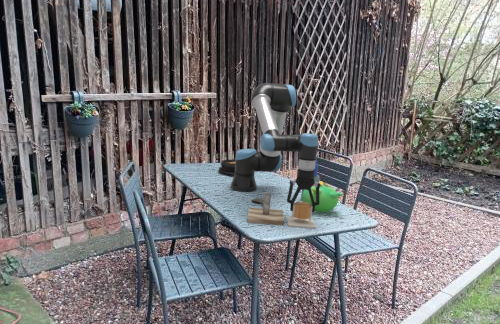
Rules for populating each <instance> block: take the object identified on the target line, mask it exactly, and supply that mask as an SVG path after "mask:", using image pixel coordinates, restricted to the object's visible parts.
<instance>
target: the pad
mask: <svg viewBox="0 0 500 324" xmlns="http://www.w3.org/2000/svg"><path fill="white" fill-rule="evenodd" d="M286 221H287V227H289V228H299V229H310V230H311V229H313V230H316V229H317V226H316V222H315V221H314V218H313V217H311V220H309V219H298V218H295V217H294V219H292V215H291V216H289V215H286Z"/></svg>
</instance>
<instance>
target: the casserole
mask: <svg viewBox="0 0 500 324" xmlns="http://www.w3.org/2000/svg"><path fill="white" fill-rule="evenodd" d="M220 165H221V166H220V167H218V172H220V173H223V174H226V175H228V174H230V175H229V176H234V175H235V159H224V160H221V162H220Z"/></svg>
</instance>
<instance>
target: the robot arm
mask: <svg viewBox="0 0 500 324" xmlns="http://www.w3.org/2000/svg"><path fill="white" fill-rule="evenodd" d="M250 96H251V98H250V101H251V104H252V107H253V108H254V109H255V111H256V115H257V118H258V121H259V125H260V128H261V129H260V130H261V132H262V135H261V136H260V141H259V142H260V151H257V149H255V148H242V149H238V150H237V151H236V154H235V158H234V160H235V175H233V178H232V180H231V182H230V189H231V190H233V191H235V192H244V193H246V192H248V193H249V192H254V191H256V190H257V183H256V178H255V174H256V173H255V172H259V173H260V172H261V173H264V172H265V173H266V172H267V173H274V172H275V173H276V172H278V171H279V170H281V169H280V168H281V166H282V163H283V155H282V154H281V152H293V153H296V152H297V153H298V162H297V170H296V171H297V174H296V178H295V179H294V180H291V179H290V180H289V189H288V193H287V198H286V202H287V203H288V204H290V206H289V210H290V212H291V216H292V219H294V212H295V201H297V198H298V196H299V194H300V192H302V190H304V189H305V190H308V191H309V195H310V198H311V202H312V205H311V211H310V218H309V220H311V218H313V217H312V215H313V214H314V213H315V206H316V205H319V188H320V183H319V182H320V181H319V182H318V183H317V182H315V181H314V174H315V171H314V169H315V164H316V156H317V153H318V147H319V136H318V134H315V133H304V132H303V133H302V134H292V135H291V134H283V131H284V126H285V122H286V121H285V120H286V116H287V114H288V113H290V111H291V108H294V107H295V106H296V104H297V91H296V88H295V87H294V86H293V85H292V84H287V83H272V82H265V83H261V84H259V85H258V86H257V87H255V88H254V89H253V91H252V93H251V95H250ZM295 184H296V186H297V188H296V190H295V192H294V194H293V189H294V186H295ZM314 184H315V187H316V202H314V198H313V195H312V191H311V187H312V186H313V185H314ZM292 194H293V196H292Z"/></svg>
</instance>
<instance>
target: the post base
mask: <svg viewBox="0 0 500 324" xmlns="http://www.w3.org/2000/svg"><path fill="white" fill-rule="evenodd" d="M271 196H272V193H271V192H269V191H265V192H264V193H263V200H264V202H263V203H264V204H262V205H263V206H262V208H261V207H252V206H251V207H249V209H248V215H247V223H248V224H260V225H272V226H284V225H285V218H284V212H283V209H273V208H271V200H272V199H271Z"/></svg>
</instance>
